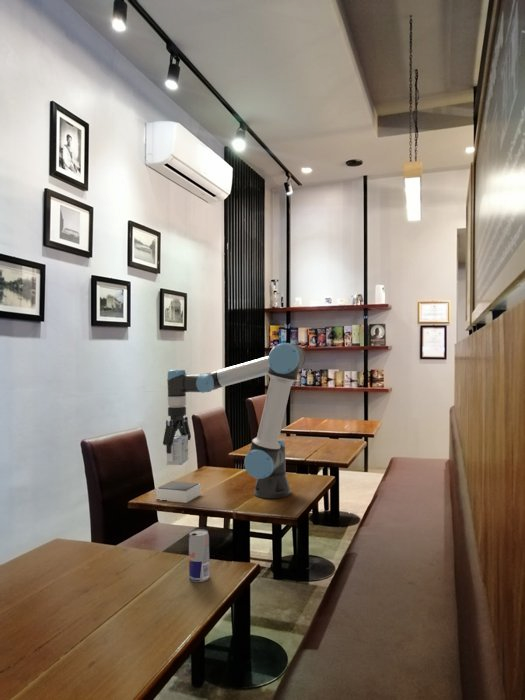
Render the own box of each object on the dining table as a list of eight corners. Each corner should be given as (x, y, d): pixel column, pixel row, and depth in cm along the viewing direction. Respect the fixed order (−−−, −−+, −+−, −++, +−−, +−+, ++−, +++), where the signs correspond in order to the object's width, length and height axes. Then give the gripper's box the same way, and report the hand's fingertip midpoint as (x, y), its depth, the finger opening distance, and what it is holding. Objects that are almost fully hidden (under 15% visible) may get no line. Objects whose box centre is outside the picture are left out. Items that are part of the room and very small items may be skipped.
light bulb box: (173, 459, 216) (173, 434, 216) (188, 459, 215) (188, 434, 215) (166, 465, 205) (165, 438, 205) (182, 465, 204) (181, 438, 205)
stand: (200, 494, 213) (200, 483, 213) (186, 502, 202) (186, 490, 202) (171, 492, 218) (171, 480, 218) (156, 499, 207) (156, 487, 207)
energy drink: (187, 576, 134) (186, 531, 134) (206, 572, 136) (205, 528, 136) (192, 584, 129) (191, 537, 129) (212, 580, 131) (211, 534, 131)
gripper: (183, 403, 223) (184, 452, 223) (153, 409, 201) (154, 463, 200) (198, 403, 220) (199, 453, 220) (169, 409, 198) (170, 464, 198)
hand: (177, 458), depth 210 cm, fingers closed on light bulb box, 11 cm apart
